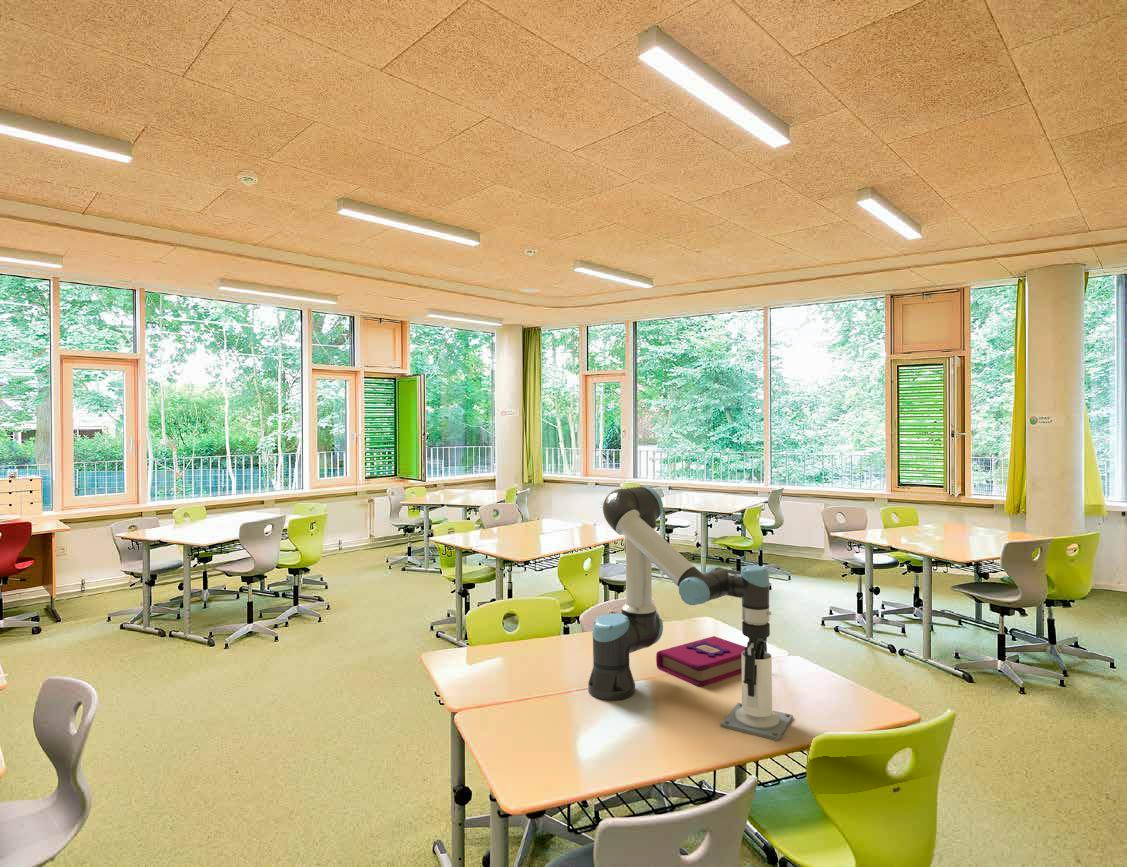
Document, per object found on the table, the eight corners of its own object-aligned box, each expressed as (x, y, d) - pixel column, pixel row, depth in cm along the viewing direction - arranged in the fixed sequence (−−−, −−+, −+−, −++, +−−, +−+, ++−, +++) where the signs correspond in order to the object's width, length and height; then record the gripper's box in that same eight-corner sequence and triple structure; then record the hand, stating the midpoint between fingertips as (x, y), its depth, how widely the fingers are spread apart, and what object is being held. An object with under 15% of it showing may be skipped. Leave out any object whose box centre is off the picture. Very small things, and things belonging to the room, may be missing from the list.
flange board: (720, 726, 176) (720, 720, 176) (738, 705, 190) (738, 699, 190) (779, 740, 168) (778, 734, 168) (792, 717, 181) (792, 711, 181)
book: (656, 669, 221) (655, 647, 221) (711, 653, 237) (711, 633, 237) (699, 689, 204) (699, 665, 204) (756, 670, 219) (756, 648, 219)
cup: (770, 705, 182) (769, 650, 182) (773, 718, 174) (773, 660, 174) (741, 703, 184) (740, 648, 184) (743, 715, 176) (742, 658, 176)
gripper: (758, 633, 168) (759, 718, 168) (778, 614, 186) (779, 690, 186) (731, 629, 172) (732, 711, 172) (753, 610, 190) (754, 685, 190)
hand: (756, 700), depth 179 cm, fingers closed on cup, 8 cm apart
